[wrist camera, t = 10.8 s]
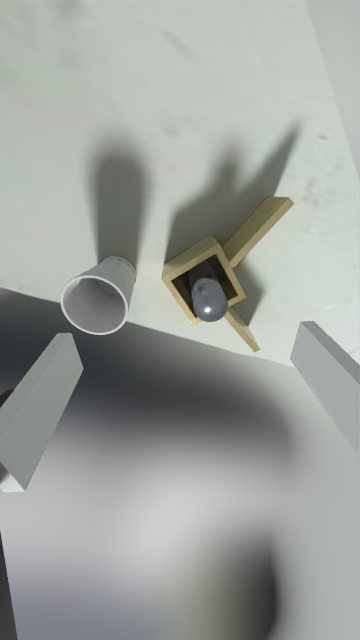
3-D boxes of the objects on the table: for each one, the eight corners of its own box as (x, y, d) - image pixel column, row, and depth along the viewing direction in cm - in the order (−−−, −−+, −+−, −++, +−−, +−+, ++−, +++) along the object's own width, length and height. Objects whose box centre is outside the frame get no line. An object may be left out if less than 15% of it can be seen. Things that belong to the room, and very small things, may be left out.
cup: (146, 292, 39) (136, 329, 29) (102, 300, 40) (77, 339, 29) (133, 246, 35) (115, 268, 25) (84, 256, 36) (47, 282, 26)
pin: (183, 268, 37) (187, 302, 26) (205, 255, 36) (218, 284, 25) (195, 288, 39) (204, 327, 28) (216, 276, 38) (234, 311, 27)
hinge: (162, 262, 37) (160, 276, 31) (269, 194, 32) (291, 195, 26) (216, 343, 45) (222, 367, 39) (307, 298, 40) (330, 317, 34)
